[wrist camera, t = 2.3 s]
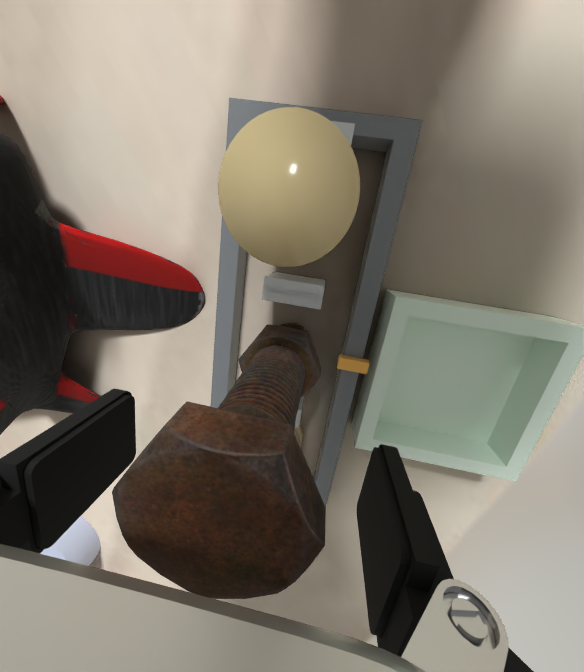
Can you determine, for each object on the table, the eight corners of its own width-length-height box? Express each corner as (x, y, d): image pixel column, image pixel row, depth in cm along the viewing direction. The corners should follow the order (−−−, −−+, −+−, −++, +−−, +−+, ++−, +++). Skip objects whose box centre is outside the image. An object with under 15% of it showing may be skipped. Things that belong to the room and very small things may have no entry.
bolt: (334, 365, 21) (343, 603, 7) (274, 382, 22) (176, 618, 8) (308, 294, 20) (255, 410, 6) (246, 316, 21) (68, 459, 7)
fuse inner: (279, 179, 18) (223, 98, 8) (350, 188, 17) (375, 116, 8) (271, 252, 19) (214, 255, 10) (336, 262, 19) (343, 276, 9)
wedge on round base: (92, 590, 35) (104, 522, 30) (39, 667, 28) (44, 595, 24) (27, 564, 35) (29, 492, 30) (-41, 634, 28) (-50, 557, 24)
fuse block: (214, 469, 26) (198, 501, 22) (240, 114, 17) (219, 81, 14) (328, 495, 25) (328, 532, 22) (418, 136, 16) (441, 106, 13)
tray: (386, 289, 19) (395, 296, 16) (554, 317, 18) (596, 329, 15) (351, 422, 22) (355, 447, 20) (491, 451, 22) (515, 481, 19)
